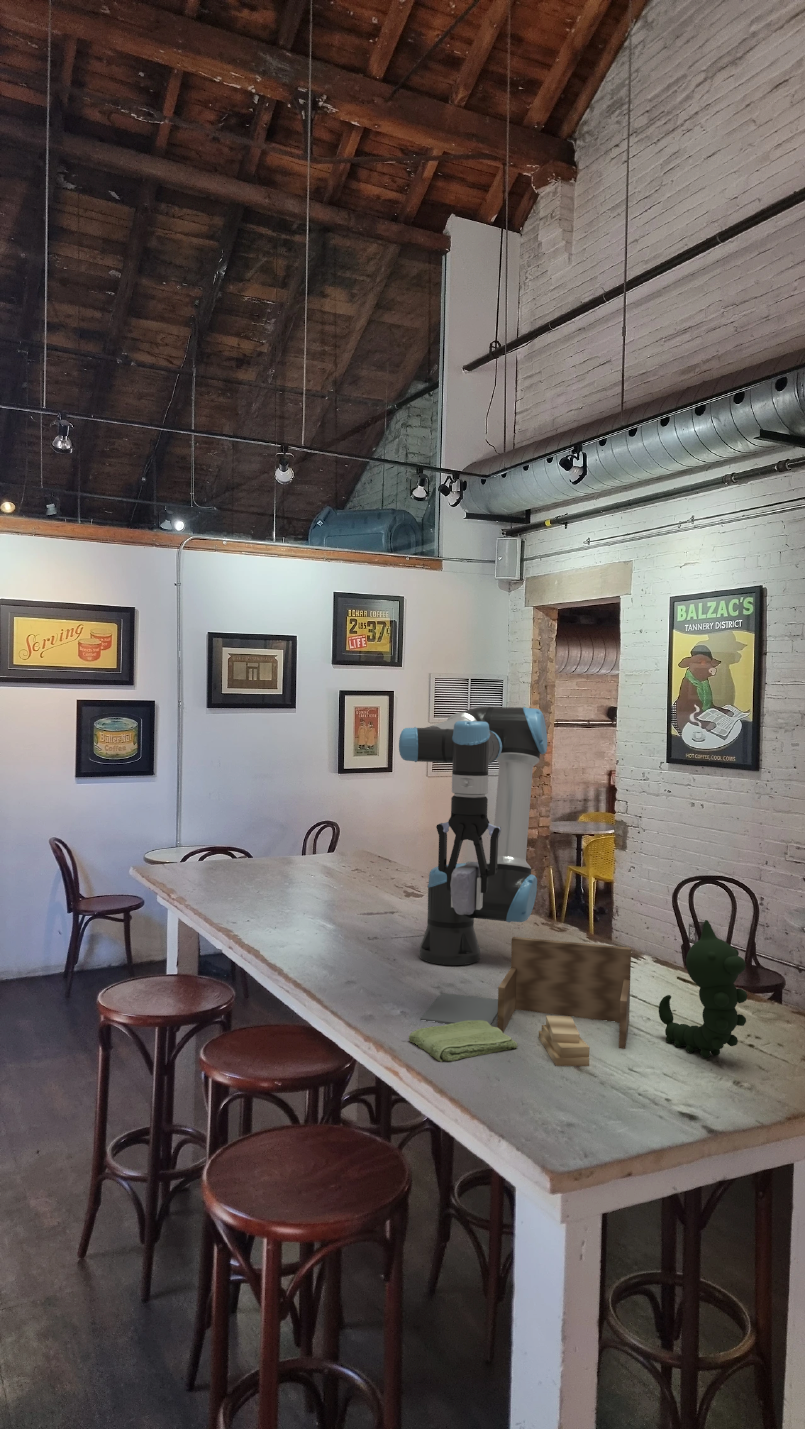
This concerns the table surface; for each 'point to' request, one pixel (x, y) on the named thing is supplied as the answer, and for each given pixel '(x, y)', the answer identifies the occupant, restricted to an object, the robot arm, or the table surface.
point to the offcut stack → (564, 1042)
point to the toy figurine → (709, 996)
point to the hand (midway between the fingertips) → (466, 906)
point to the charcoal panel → (461, 1009)
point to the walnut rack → (567, 982)
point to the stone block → (465, 888)
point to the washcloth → (461, 1040)
